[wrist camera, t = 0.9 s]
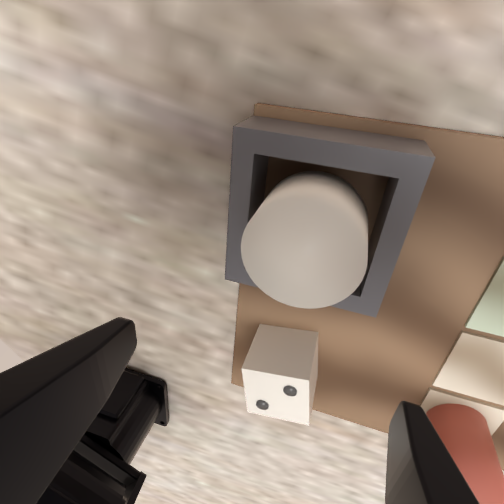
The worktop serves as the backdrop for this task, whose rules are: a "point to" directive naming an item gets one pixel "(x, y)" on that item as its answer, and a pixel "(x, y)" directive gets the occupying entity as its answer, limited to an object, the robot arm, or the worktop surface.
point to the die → (281, 373)
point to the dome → (308, 241)
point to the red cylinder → (470, 449)
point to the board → (409, 288)
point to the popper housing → (339, 156)
